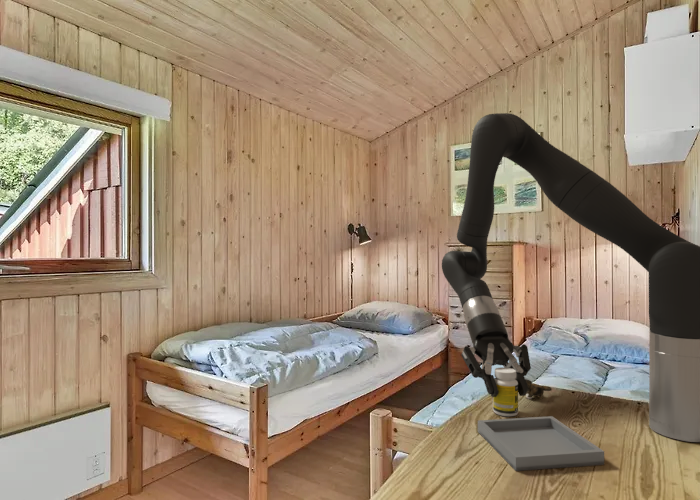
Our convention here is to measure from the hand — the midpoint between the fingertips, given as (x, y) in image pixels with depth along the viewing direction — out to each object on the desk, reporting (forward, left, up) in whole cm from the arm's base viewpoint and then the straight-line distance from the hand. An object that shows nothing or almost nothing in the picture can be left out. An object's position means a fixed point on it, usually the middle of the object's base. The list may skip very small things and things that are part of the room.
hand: (509, 394), depth 88 cm
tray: (+2, +13, -4) cm, 14 cm away
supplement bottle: (0, -2, -4) cm, 5 cm away
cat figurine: (-11, -9, -4) cm, 15 cm away
